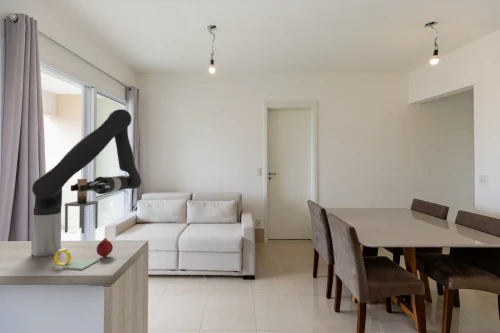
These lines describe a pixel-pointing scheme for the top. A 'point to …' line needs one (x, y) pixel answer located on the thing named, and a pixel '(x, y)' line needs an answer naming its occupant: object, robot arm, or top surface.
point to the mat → (80, 264)
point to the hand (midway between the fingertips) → (76, 188)
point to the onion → (104, 248)
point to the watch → (66, 254)
